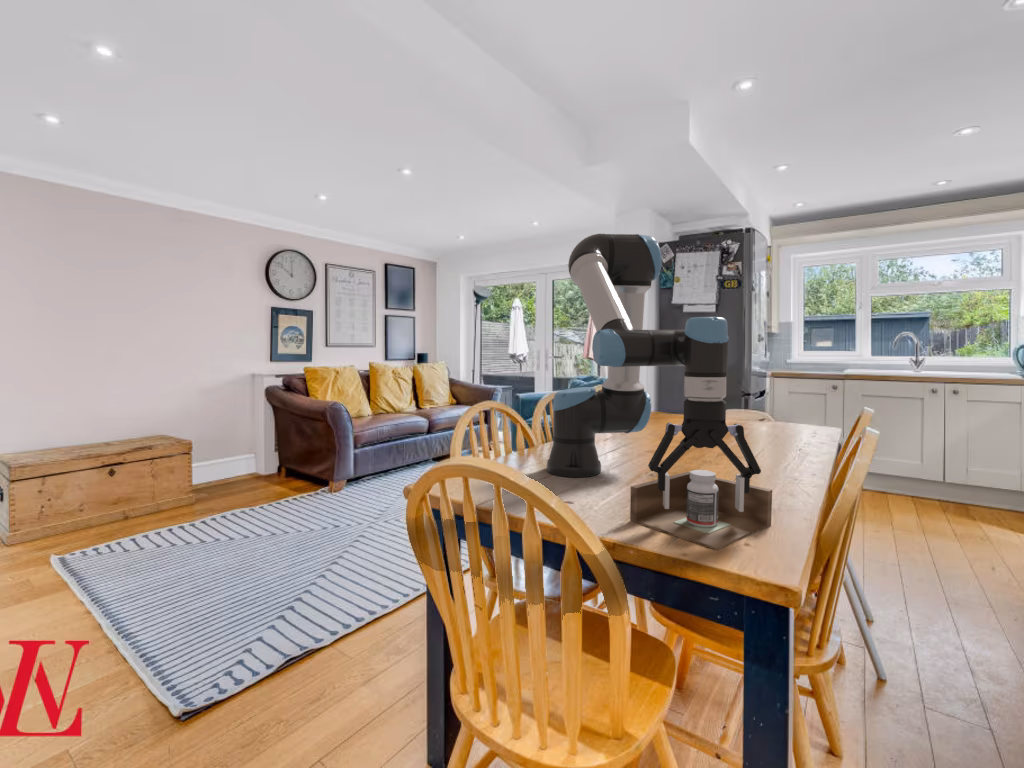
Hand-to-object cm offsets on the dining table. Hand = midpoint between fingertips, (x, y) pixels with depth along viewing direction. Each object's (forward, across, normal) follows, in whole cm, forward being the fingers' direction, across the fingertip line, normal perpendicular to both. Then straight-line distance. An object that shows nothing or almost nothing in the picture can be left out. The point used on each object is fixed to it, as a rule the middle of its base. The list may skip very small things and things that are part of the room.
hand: (702, 508), depth 97 cm
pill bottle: (+3, 0, 0) cm, 3 cm away
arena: (+3, 0, +2) cm, 4 cm away
